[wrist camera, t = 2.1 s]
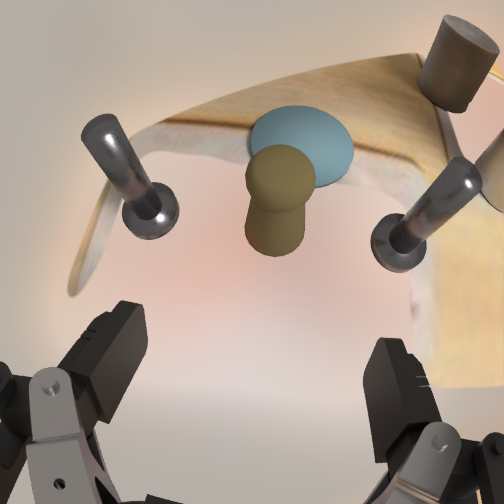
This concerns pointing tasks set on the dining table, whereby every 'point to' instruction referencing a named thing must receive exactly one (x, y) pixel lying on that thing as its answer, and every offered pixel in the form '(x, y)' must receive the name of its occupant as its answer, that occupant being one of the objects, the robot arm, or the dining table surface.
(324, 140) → the teal mat
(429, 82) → the pillar candle
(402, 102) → the dining table surface
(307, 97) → the dining table surface
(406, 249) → the gap posts
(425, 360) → the dining table surface
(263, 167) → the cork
